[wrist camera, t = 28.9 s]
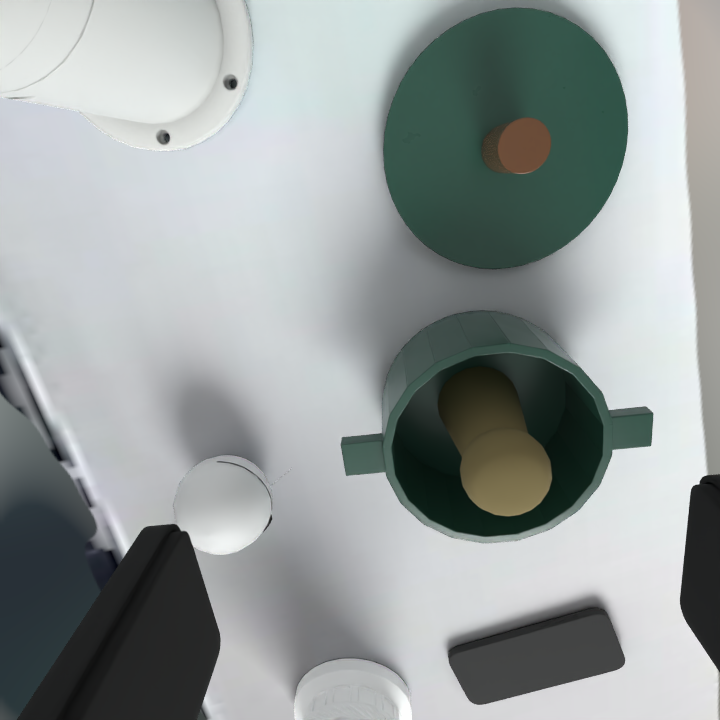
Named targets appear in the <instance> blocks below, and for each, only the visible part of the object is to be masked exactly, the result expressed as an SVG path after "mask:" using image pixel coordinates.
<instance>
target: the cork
mask: <svg viewBox="0 0 720 720" xmlns="http://www.w3.org/2000/svg"><path fill="white" fill-rule="evenodd" d="M437 405H438V411H439V416H440V418H441V420H442V421H443V423H444V425H445V427H446V429H447V431H448V432H449V434H450V436H451V438H452V440H453V442H454V443H455V445H456V447H457V449H458V451H459V452H460V454H461V456H462V461H461V466H460V474H461V480H462V485H463V488H464V489H465V491H466V493H467V494H468V496H469V498H470V499H471V500H472V502H474V503H475V504H476V505H477V506H478V507H480V508H481V509H483V510H485V511H488V512H490V513H492V514H495V515H500V516H515V515H521V514H523V513H525V512H528V511H530V510H532V509H533V508H534V507H536V506H537V505H538V504H540V503H541V501H542V500H543V498H544V497H545V496H546V494H547V492H548V491H549V488H550V484H551V481H552V472H551V462H550V459H549V458H548V456H547V454H546V452H545V450H544V448H543V447H542V445H541V444H540V443H539V442H538V441H536V440H535V439H534V438H533V437H532V436H531V435H529V434H528V431H527V427H526V424H525V420H524V416H523V412H522V408H521V405H520V401H519V397H518V393H517V390H516V388H515V386H514V384H513V382H512V381H511V380H510V379H509V378H508V377H507V376H506V375H505V374H504V373H502V372H500V371H498V370H495V369H493V368H488V367H480V366H478V367H473V368H467V369H464V370H462V371H460V372H458V373H456V374H454V375H453V376H452V377H451V378H450V379H449V380H448V381H447V382H446V383H445V384H444V386H443V388H442V390H441V392H440V393H439V399H438V404H437Z"/></svg>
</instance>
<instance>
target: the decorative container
mask: <svg viewBox="0 0 720 720" xmlns="http://www.w3.org/2000/svg"><path fill="white" fill-rule="evenodd" d="M294 714H295V719H296V720H411V719H412V714H411V695H410V692H409V690H408V688H407V685H406V684H405V683H404V681H403V680H402V679H401V678H400V677H399V675H397V674H396V673H395V672H393V671H392V670H390V669H389V668H387V667H385V666H383V665H380V664H378V663H375V662H373V661H368V660H363V659H337V660H333V661H328V662H325V663H323V664H321V665H318V666H316V667H314V668H313V669H311V670H310V671H309V672H308V673H307V674H305V675H304V676H303V678H302V679H301V681H300V683H299V684H298V686H297V691H296V695H295V701H294Z"/></svg>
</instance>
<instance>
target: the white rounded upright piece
mask: <svg viewBox="0 0 720 720" xmlns="http://www.w3.org/2000/svg"><path fill="white" fill-rule="evenodd" d="M291 469H292V468H291ZM291 469H290V470H291ZM290 470H289V471H290ZM285 474H286V473H285ZM285 474H284V475H285ZM281 477H282V476H281ZM281 477H280V478H281ZM280 478H279V479H280ZM274 483H275V482H274ZM274 483H273V484H274ZM273 484H272V485H273ZM270 486H271V485H269V483H268V481H267V478H266V477H265V475H264V474H263V472H262V471H261V470H260V469H259V468H258V467H257V466H256V465H255V464H253V463H252V462H250V461H249V460H247V459H245V458H241V457H238V456H234V455H221V456H217V457H213V458H209V459H205V460H203V461H202V462H200V463H199V464H197V465H196V466H194V467H193V468H192V469H191V470H190V471H189V472H188V473H187V474H186V475H185V477H184V478H183V479H182V481H181V482H180V483H179V486H178V489H177V492H176V495H175V499H174V503H173V509H174V516H175V522H176V525H178V527H179V528H180V530H181V531H187V533H188V534H189V536H190V539H191V542H192V545H193V546H194V547H195V548H197V549H199V550H200V551H203V552H207V553H210V554H218V555H226V554H231V553H235V552H238V551H240V550H241V549H243V548H245V547H246V546H248V545H250V544H251V543H253V542H255V540H256V539H257V538H258V537H259V536H260V535H261V533H262V532H264V531H265V529H266V528H267V527H268V526H269V524H270V523H271V520H272V515H271V513H272V490H271V488H270Z"/></svg>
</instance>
